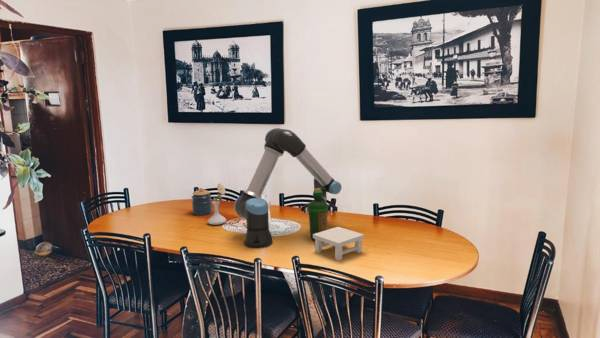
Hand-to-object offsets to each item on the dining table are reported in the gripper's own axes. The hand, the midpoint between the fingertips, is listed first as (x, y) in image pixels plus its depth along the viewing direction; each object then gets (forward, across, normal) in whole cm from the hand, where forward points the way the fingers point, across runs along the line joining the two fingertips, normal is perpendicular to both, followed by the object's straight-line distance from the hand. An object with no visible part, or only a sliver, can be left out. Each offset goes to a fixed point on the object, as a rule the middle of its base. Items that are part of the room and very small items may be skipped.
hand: (318, 212), depth 228 cm
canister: (-52, +81, -15) cm, 97 cm away
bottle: (-1, 0, -15) cm, 15 cm away
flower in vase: (-30, +64, -15) cm, 72 cm away
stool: (+18, -10, -15) cm, 26 cm away
